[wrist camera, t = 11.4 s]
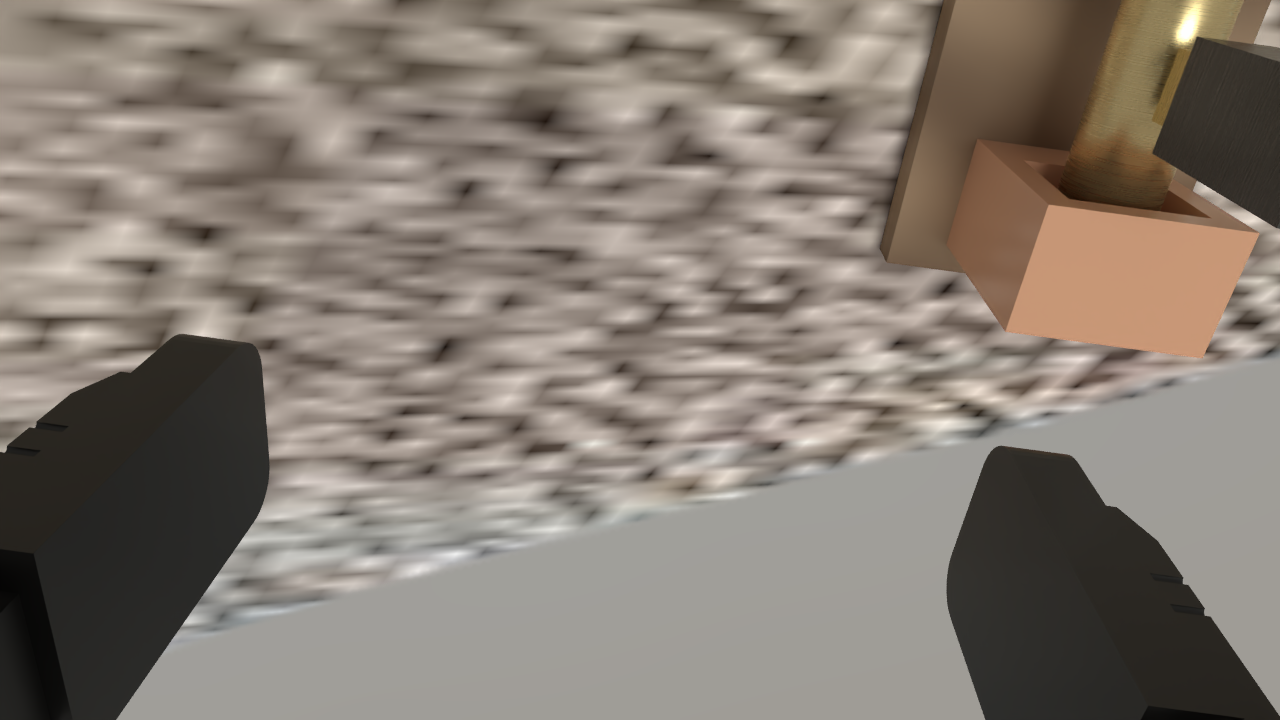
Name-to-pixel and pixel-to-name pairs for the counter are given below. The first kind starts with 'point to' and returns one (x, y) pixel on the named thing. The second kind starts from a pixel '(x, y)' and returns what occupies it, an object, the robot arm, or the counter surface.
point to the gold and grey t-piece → (1179, 111)
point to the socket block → (1094, 256)
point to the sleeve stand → (1000, 103)
